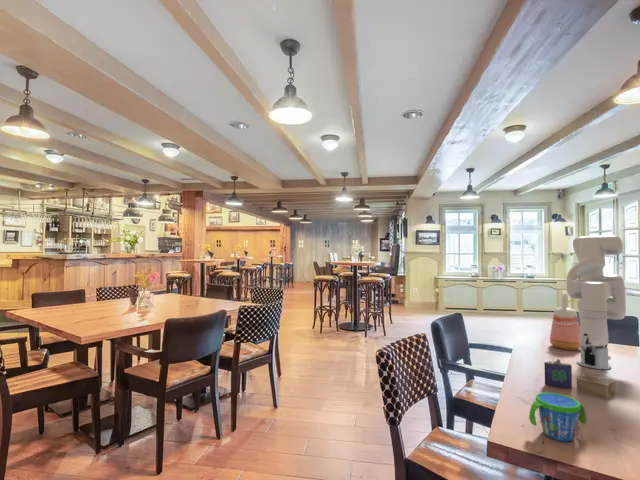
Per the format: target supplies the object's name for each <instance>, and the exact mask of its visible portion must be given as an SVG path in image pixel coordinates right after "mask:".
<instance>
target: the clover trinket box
mask: <svg viewBox="0 0 640 480" xmlns="http://www.w3.org/2000/svg"><path fill="white" fill-rule="evenodd" d="M543 364H544V386H545V387H549V388H557V389H559V388H560V389H573V374H572V373H573V372H572V371H573V369H572V364H571V363H563V362H562V360H561V358H556V361H550V360H549V361H545V362H544V363H543Z"/></svg>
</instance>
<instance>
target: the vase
mask: <svg viewBox="0 0 640 480" xmlns="http://www.w3.org/2000/svg"><path fill="white" fill-rule="evenodd" d="M577 313H578V312H577V311H576V309H574V308H572V307H570V305H569V295H568V293H562V294H561V306H558V307H555V308H554V310H553V317H552V320H551V322H552V323H551V329H550V334H549V335H550V336H549V342H550V344H551V345H552V346H553V347H555V348H557V349H561V350H567V351H576V350H579V349H581V346H580V342H579V334H580V322H579V319H578V318H579V317H578V314H577Z"/></svg>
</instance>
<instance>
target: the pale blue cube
mask: <svg viewBox="0 0 640 480" xmlns="http://www.w3.org/2000/svg"><path fill="white" fill-rule="evenodd" d="M588 348H589V349H590V350H591V347H588ZM608 348H609V347H607V348H605V347H600V346H597V347H595V348H594V353H593V355H595V366H592V365H588V364H585V353H584V350H583V349H582V365H586V366H589V367H593V368H592V369H595V368H597V370H603V369H602V368H608V364H609V360H608V356H609V349H608ZM582 365H581V366H582ZM589 367H588V368H589Z"/></svg>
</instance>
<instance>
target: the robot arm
mask: <svg viewBox="0 0 640 480" xmlns="http://www.w3.org/2000/svg"><path fill="white" fill-rule="evenodd" d="M623 245H624V244H623V240H622V238H621V237H620V236H619V235H617V234H616V235H614V234H610V235H609V234H608V235H607V234H605V235H603V234H602V235H599V234H597V235H595V234H594V235H585V236H577V237H575V238H574V239H573V241H572V248H573V251H574V254H575V256H576V257H577V260H578V262H577V263H576V264H574V265H572V267H571V268H570V269H569V271H568V273H567V274H566V292H567V293H566V294H568V297H570V298H572V299H578V300H577V302H576V303H577V311H578V312H577V313H578V318H579V329H580V334H579V342H580V346H581V348H580V358H578V359H576V364H578V365H580V366H583V367H585V368H589V369H597V368H593V367H589V366H586V365H582V349H583V350H584V353H585V364H588V365H592V366H595V355H593V353H594V348H595V347H597V346H600V347H605V348H608V346H609V344H610V343H609V342H610V341H609V327H608V320H623V319H624V318H625V317H626V313H627V309H626V308H627V307H626V287H625V282H624V278H623V277H622V276H621V275H619V274H615V273H604V268H605V266H606V258H605V257H606V256H619V255H621V254H622V253H623V249H624V246H623ZM579 278H580V279H579ZM588 347H591V350H590V349H589V348H588ZM611 358H612V357H611V356H610V355H608V361H609V360H611ZM611 368H612V365H611V363H608V368H602V369H601V370H610V369H611ZM597 370H598V369H597Z"/></svg>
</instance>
